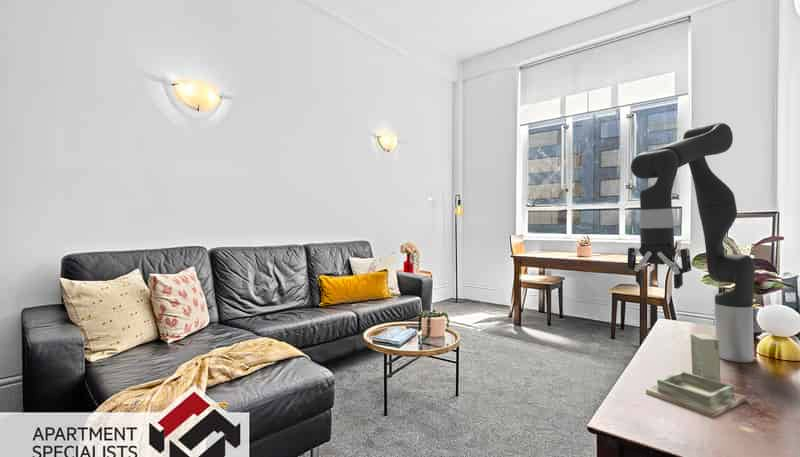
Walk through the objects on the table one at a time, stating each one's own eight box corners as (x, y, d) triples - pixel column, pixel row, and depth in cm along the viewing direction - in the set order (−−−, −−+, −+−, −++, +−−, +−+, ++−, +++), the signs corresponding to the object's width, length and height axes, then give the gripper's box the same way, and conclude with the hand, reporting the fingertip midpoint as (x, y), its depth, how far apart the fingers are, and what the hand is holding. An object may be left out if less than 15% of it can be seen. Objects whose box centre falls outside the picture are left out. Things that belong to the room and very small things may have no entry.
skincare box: (721, 384, 106) (720, 340, 106) (703, 384, 107) (702, 339, 107) (708, 375, 112) (707, 333, 112) (691, 374, 113) (690, 332, 113)
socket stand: (680, 379, 110) (679, 367, 110) (746, 400, 97) (746, 386, 97) (646, 392, 103) (645, 379, 103) (712, 417, 89) (712, 402, 89)
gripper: (693, 225, 101) (695, 287, 101) (633, 226, 112) (635, 282, 113) (683, 226, 96) (685, 291, 97) (621, 227, 108) (624, 285, 108)
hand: (658, 286), depth 105 cm, fingers open, 8 cm apart
